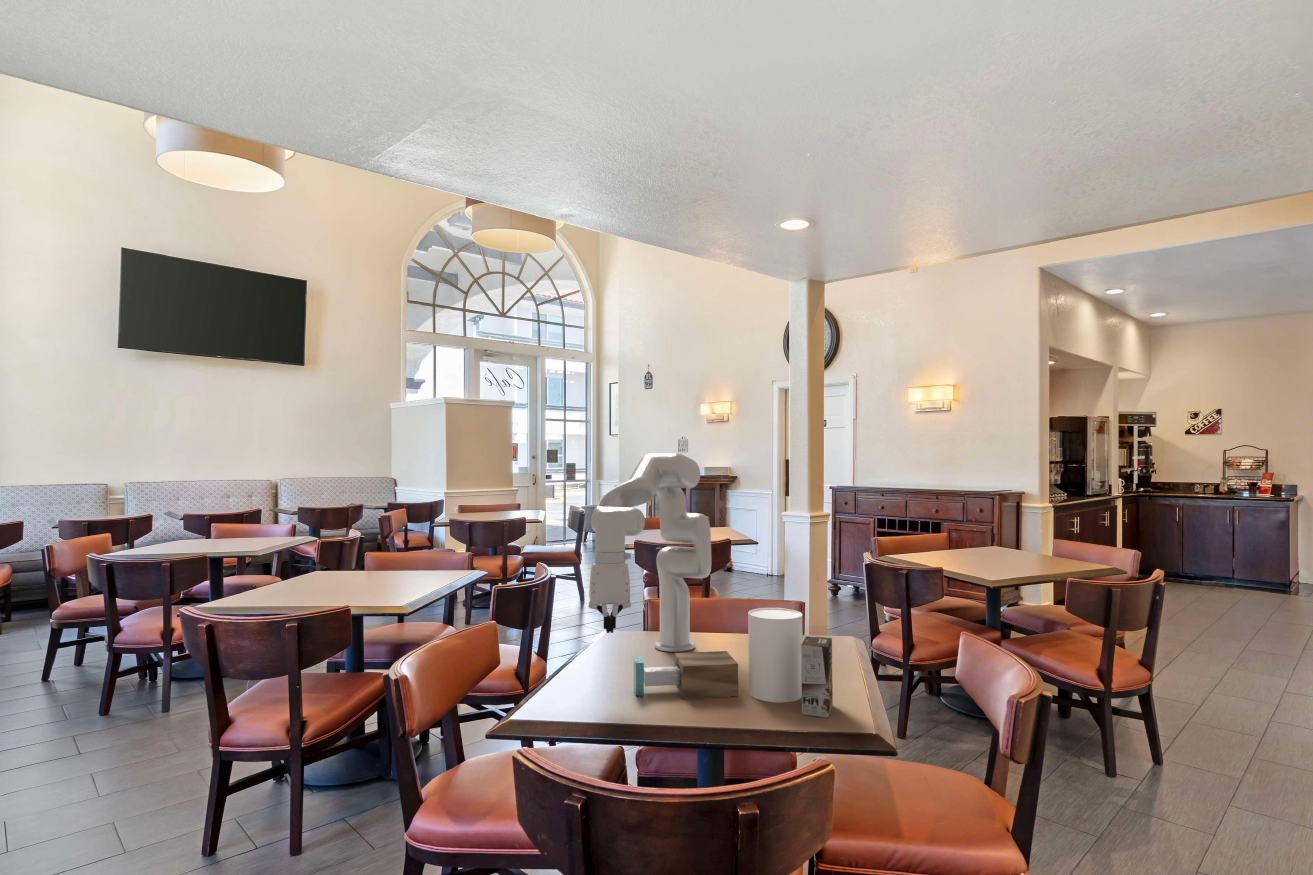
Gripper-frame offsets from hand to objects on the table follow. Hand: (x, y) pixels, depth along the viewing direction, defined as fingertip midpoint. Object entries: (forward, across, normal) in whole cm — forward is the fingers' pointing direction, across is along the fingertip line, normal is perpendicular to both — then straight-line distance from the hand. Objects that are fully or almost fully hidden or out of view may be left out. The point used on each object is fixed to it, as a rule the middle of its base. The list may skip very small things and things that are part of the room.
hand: (609, 631), depth 173 cm
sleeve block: (+16, -25, 0) cm, 29 cm away
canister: (+16, -42, +4) cm, 45 cm away
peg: (+15, -14, 0) cm, 21 cm away
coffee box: (+16, -48, +18) cm, 53 cm away
